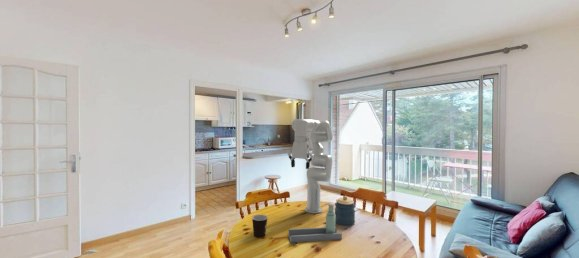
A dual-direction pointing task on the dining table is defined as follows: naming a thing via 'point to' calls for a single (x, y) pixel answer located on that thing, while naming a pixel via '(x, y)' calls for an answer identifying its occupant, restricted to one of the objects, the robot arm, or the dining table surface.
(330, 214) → the bottle
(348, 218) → the canister
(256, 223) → the coffee mug
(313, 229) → the u rest
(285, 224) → the dining table surface
